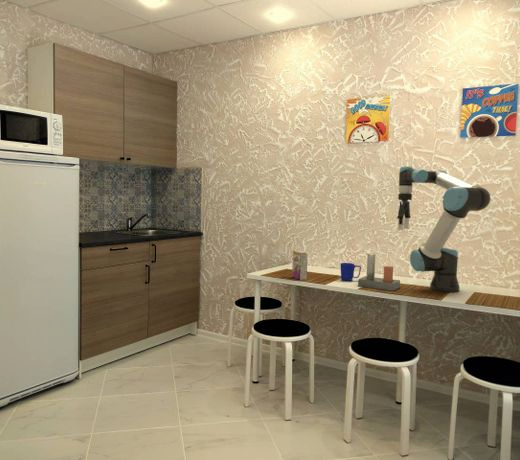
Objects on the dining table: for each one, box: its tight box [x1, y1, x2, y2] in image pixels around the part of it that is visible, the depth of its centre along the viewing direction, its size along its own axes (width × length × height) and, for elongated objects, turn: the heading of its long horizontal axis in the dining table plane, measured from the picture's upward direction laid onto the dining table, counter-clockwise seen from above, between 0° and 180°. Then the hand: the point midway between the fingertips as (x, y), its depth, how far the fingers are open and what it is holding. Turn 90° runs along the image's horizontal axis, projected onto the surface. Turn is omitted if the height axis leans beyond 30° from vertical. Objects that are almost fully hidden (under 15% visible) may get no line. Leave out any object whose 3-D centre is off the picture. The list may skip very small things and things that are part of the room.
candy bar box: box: [291, 250, 308, 281], centre depth 277 cm, size 11×5×16 cm, turn 22°
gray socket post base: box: [357, 253, 401, 292], centre depth 258 cm, size 20×12×18 cm, turn 58°
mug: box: [339, 262, 362, 282], centre depth 275 cm, size 8×12×10 cm
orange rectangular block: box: [382, 265, 394, 282], centre depth 255 cm, size 4×4×12 cm
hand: (403, 229), depth 269 cm, fingers open, 13 cm apart
